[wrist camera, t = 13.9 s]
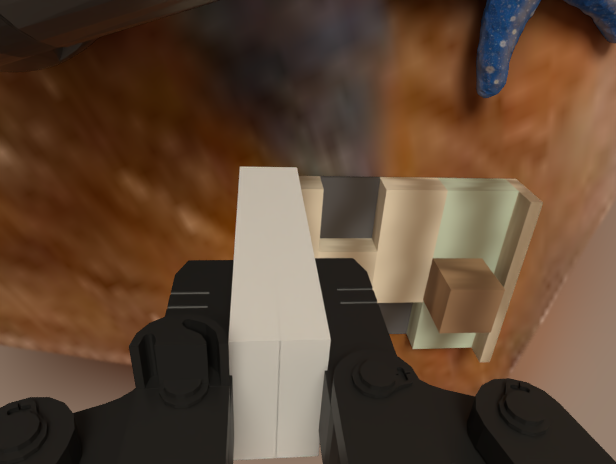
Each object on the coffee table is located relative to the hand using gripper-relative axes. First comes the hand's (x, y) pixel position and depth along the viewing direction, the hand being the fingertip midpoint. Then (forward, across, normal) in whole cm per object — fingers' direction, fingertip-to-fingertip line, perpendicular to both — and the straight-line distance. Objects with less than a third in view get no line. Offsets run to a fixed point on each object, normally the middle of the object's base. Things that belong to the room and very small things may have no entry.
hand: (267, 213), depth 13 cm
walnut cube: (+22, +17, -18) cm, 33 cm away
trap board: (+24, +10, -18) cm, 32 cm away
